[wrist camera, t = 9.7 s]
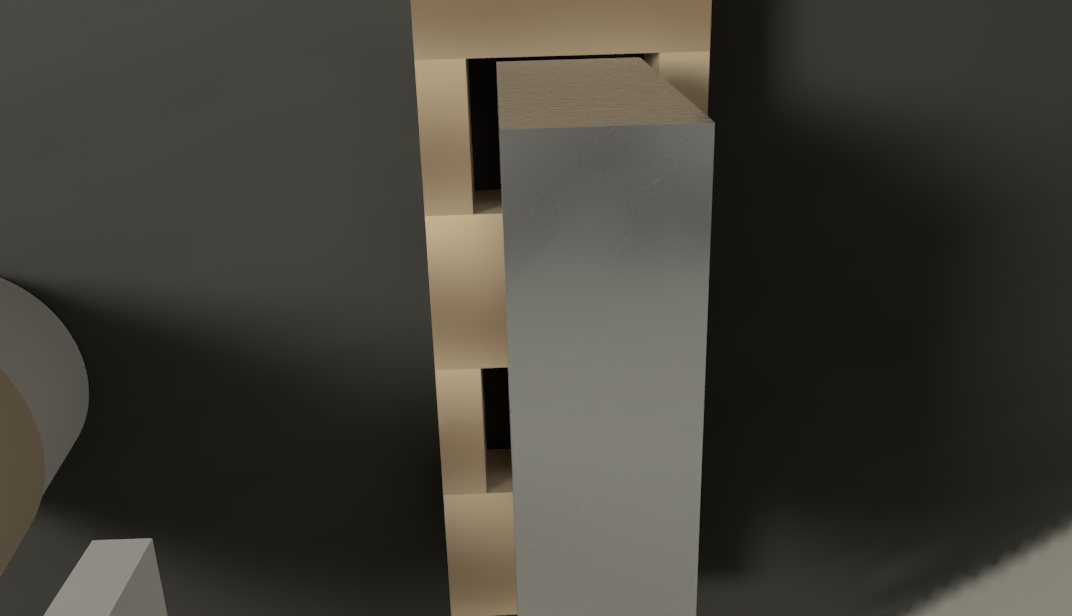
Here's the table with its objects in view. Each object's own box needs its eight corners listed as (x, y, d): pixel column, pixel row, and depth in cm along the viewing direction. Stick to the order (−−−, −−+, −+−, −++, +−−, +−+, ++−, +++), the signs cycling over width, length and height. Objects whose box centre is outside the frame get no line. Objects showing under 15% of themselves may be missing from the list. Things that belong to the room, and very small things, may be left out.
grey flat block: (495, 42, 26) (499, 129, 15) (618, 38, 26) (714, 122, 15) (510, 451, 30) (523, 759, 19) (616, 447, 30) (690, 750, 19)
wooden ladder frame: (410, -125, 25) (402, -130, 22) (695, -132, 25) (716, -138, 22) (454, 566, 32) (451, 617, 29) (675, 556, 32) (689, 606, 30)
